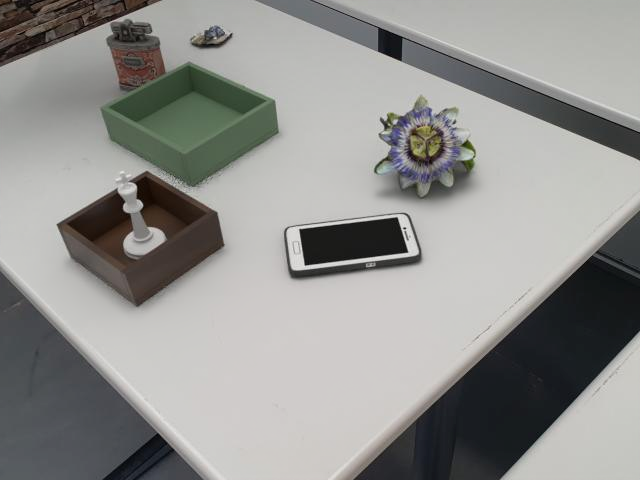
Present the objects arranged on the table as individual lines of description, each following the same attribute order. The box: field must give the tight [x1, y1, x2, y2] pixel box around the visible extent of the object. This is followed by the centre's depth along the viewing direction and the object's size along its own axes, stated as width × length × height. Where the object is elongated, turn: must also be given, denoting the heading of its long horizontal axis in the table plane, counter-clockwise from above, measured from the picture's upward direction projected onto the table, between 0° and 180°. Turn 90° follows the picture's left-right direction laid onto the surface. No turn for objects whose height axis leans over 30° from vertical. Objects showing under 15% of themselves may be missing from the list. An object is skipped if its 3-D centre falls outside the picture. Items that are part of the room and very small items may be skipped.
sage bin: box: [99, 61, 280, 187], centre depth 93 cm, size 18×16×5 cm
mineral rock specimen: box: [189, 25, 230, 46], centre depth 114 cm, size 7×8×2 cm
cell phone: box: [283, 212, 423, 277], centre depth 77 cm, size 8×15×1 cm, turn 97°
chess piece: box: [114, 170, 167, 260], centre depth 75 cm, size 5×5×10 cm
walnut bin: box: [56, 170, 225, 307], centre depth 78 cm, size 13×13×5 cm
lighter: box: [105, 18, 167, 93], centre depth 101 cm, size 8×3×10 cm, turn 76°
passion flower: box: [373, 94, 477, 198], centre depth 84 cm, size 11×11×12 cm
